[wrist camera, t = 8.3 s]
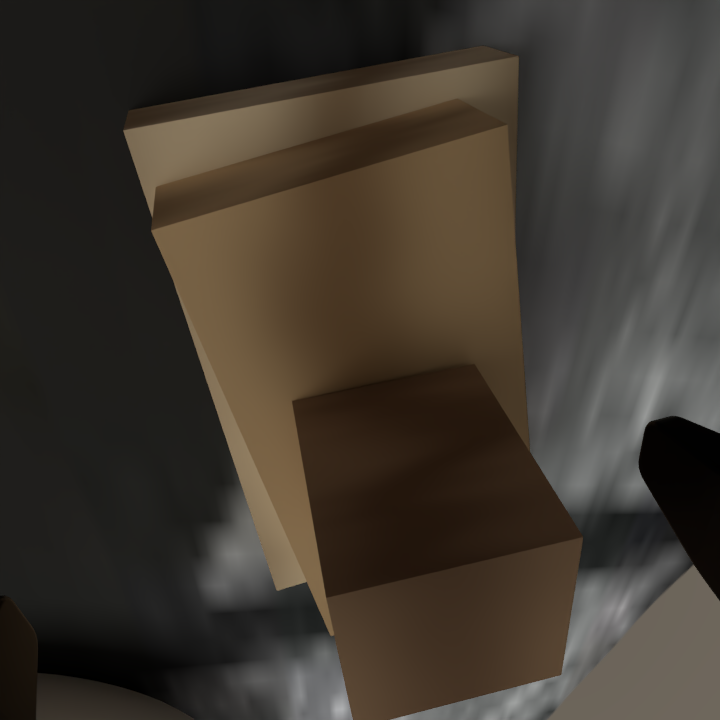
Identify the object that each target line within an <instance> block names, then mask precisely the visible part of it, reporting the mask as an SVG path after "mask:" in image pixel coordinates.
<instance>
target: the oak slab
mask: <svg viewBox="0 0 720 720" xmlns="http://www.w3.org/2000/svg"><path fill="white" fill-rule="evenodd" d="M151 231H152V233H153V236H154V238H155V240H156V242H157V245H158V247H159V249H160V251H161V254H162V256H163V258H164V260H165V263H166V265H167V267H168V269H169V272H170V274H171V276H172V278H173V281H174V283H175V285H176V287H177V290H178V292H179V294H180V296H181V299H182V301H183V303H184V305H185V308H186V310H187V312H188V315H189V317H190V319H191V321H192V324H193V326H194V328H195V330H196V333H197V335H198V337H199V339H200V342H201V344H202V346H203V348H204V351H205V353H206V355H207V357H208V360H209V362H210V364H211V366H212V369H213V371H214V373H215V375H216V378H217V380H218V382H219V385H220V387H221V389H222V391H223V394H224V396H225V398H226V400H227V403H228V405H229V407H230V409H231V412H232V414H233V416H234V418H235V421H236V423H237V425H238V427H239V430H240V432H241V434H242V436H243V439H244V441H245V443H246V445H247V448H248V450H249V452H250V455H251V457H252V459H253V461H254V464H255V466H256V468H257V470H258V473H259V475H260V477H261V479H262V482H263V484H264V486H265V488H266V491H267V493H268V495H269V497H270V500H271V502H272V504H273V506H274V509H275V511H276V513H277V515H278V518H279V520H280V522H281V524H282V527H283V529H284V531H285V534H286V536H287V538H288V540H289V543H290V545H291V547H292V549H293V552H294V554H295V556H296V558H297V561H298V563H299V565H300V567H301V570H302V572H303V574H304V576H305V579H306V581H307V583H308V585H309V588H310V590H311V592H312V594H313V597H314V599H315V601H316V604H317V606H318V608H319V610H320V613H321V615H322V617H323V619H324V622H325V624H326V626H327V628H328V631H329V633H330V635H331V636H333V635H334V631H333V627H332V622H331V618H330V613H329V609H328V604H327V600H326V595H325V589H324V583H323V577H322V572H321V566H320V560H319V554H318V549H317V543H316V537H315V531H314V526H313V520H312V514H311V508H310V503H309V497H308V491H307V485H306V480H305V474H304V468H303V462H302V457H301V451H300V445H299V440H298V434H297V428H296V422H295V417H294V411H293V405H292V401H294V400H299V399H304V398H309V397H314V396H319V395H324V394H329V393H334V392H339V391H344V390H349V389H354V388H359V387H364V386H369V385H374V384H378V383H383V382H388V381H393V380H398V379H403V378H408V377H413V376H418V375H423V374H428V373H433V372H438V371H443V370H448V369H453V368H458V367H463V366H467V365H472V364H475V365H476V367H477V369H478V370H479V372H480V373H481V375H482V377H483V378H484V380H485V381H486V383H487V385H488V386H489V388H490V389H491V391H492V393H493V394H494V396H495V397H496V399H497V400H498V402H499V404H500V405H501V407H502V408H503V410H504V412H505V413H506V415H507V416H508V418H509V420H510V421H511V423H512V424H513V426H514V428H515V429H516V431H517V432H518V434H519V436H520V437H521V439H522V440H523V442H524V444H525V445H526V447H527V448H528V450H529V451H530V444H529V430H528V416H527V401H526V387H525V372H524V358H523V343H522V329H521V315H520V300H519V286H518V271H517V257H516V242H515V228H514V214H513V199H512V185H511V170H510V156H509V141H508V127H507V124H505V123H503V122H501V121H499V120H498V119H496V118H494V117H492V116H490V115H488V114H486V113H484V112H482V111H480V110H478V109H477V108H475V107H473V106H471V105H469V104H467V103H465V102H463V101H461V100H459V99H454V100H451V101H447V102H444V103H440V104H437V105H433V106H430V107H427V108H423V109H420V110H416V111H413V112H409V113H406V114H403V115H399V116H396V117H392V118H389V119H386V120H382V121H379V122H375V123H372V124H368V125H365V126H362V127H358V128H355V129H351V130H348V131H344V132H341V133H338V134H334V135H331V136H327V137H324V138H320V139H317V140H314V141H310V142H307V143H303V144H300V145H296V146H293V147H290V148H286V149H283V150H279V151H276V152H272V153H269V154H266V155H262V156H259V157H255V158H252V159H249V160H245V161H242V162H238V163H235V164H232V165H228V166H225V167H221V168H218V169H215V170H211V171H208V172H204V173H201V174H198V175H194V176H191V177H187V178H184V179H181V180H177V181H174V182H171V183H167V184H164V185H160V186H157V187H156V189H155V199H154V209H153V218H152V228H151Z"/></svg>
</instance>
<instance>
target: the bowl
mask: <svg viewBox="0 0 720 720" xmlns="http://www.w3.org/2000/svg"><path fill="white" fill-rule="evenodd" d="M36 720H195V719H193V718H192V717H190V716H188V715H187V714H185V713H183V712H182V711H180V710H178V709H176V708H174V707H172V706H170V705H168V704H166V703H164V702H162V701H159V700H157V699H154V698H152V697H150V696H147V695H144V694H141V693H138V692H135V691H132V690H129V689H125V688H122V687H118V686H115V685H111V684H106V683H102V682H98V681H93V680H88V679H82V678H76V677H70V676H63V675H54V674H45V673H37V703H36Z"/></svg>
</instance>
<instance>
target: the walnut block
mask: <svg viewBox="0 0 720 720" xmlns="http://www.w3.org/2000/svg"><path fill="white" fill-rule="evenodd" d="M292 405H293V411H294V417H295V422H296V428H297V434H298V440H299V445H300V451H301V457H302V462H303V468H304V474H305V480H306V485H307V491H308V497H309V503H310V508H311V514H312V520H313V526H314V531H315V537H316V543H317V549H318V554H319V560H320V566H321V572H322V577H323V583H324V589H325V595H326V600H327V604H328V609H329V613H330V618H331V622H332V627H333V631H334V636H335V640H336V645H337V650H338V654H339V659H340V663H341V668H342V672H343V677H344V681H345V686H346V690H347V695H348V699H349V704H350V708H351V713H352V717H353V720H390V719H394V718H398V717H402V716H405V715H409V714H413V713H417V712H421V711H425V710H428V709H432V708H436V707H440V706H444V705H448V704H451V703H455V702H459V701H463V700H467V699H471V698H474V697H478V696H482V695H486V694H490V693H494V692H497V691H501V690H505V689H509V688H513V687H517V686H520V685H524V684H528V683H532V682H536V681H540V680H543V679H547V678H551V677H555V676H559V675H561V673H562V666H563V660H564V654H565V648H566V641H567V635H568V629H569V623H570V616H571V610H572V604H573V598H574V591H575V585H576V579H577V573H578V566H579V560H580V554H581V548H582V541H583V536H582V534H581V533H580V531H579V530H578V528H577V526H576V525H575V523H574V522H573V520H572V518H571V517H570V515H569V514H568V512H567V510H566V509H565V507H564V506H563V504H562V502H561V501H560V499H559V498H558V496H557V495H556V493H555V491H554V490H553V488H552V487H551V485H550V483H549V482H548V480H547V479H546V477H545V475H544V474H543V472H542V471H541V469H540V467H539V466H538V464H537V463H536V461H535V459H534V458H533V456H532V455H531V453H530V451H529V450H528V448H527V447H526V445H525V444H524V442H523V440H522V439H521V437H520V436H519V434H518V432H517V431H516V429H515V428H514V426H513V424H512V423H511V421H510V420H509V418H508V416H507V415H506V413H505V412H504V410H503V408H502V407H501V405H500V404H499V402H498V400H497V399H496V397H495V396H494V394H493V393H492V391H491V389H490V388H489V386H488V385H487V383H486V381H485V380H484V378H483V377H482V375H481V373H480V372H479V370H478V369H477V367H476V365H475V364H472V365H467V366H463V367H458V368H453V369H448V370H443V371H438V372H433V373H428V374H423V375H418V376H413V377H408V378H403V379H398V380H393V381H388V382H383V383H378V384H374V385H369V386H364V387H359V388H354V389H349V390H344V391H339V392H334V393H329V394H324V395H319V396H314V397H309V398H304V399H299V400H294V401H292Z"/></svg>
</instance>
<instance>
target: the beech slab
mask: <svg viewBox="0 0 720 720" xmlns="http://www.w3.org/2000/svg"><path fill="white" fill-rule="evenodd" d="M518 72H519V56H517V55H513V54H510V53H507V52H503V51H500V50H497V49H493V48H490V47H486V46H478V47H472V48H467V49H462V50H456V51H451V52H445V53H440V54H434V55H429V56H423V57H418V58H413V59H407V60H402V61H396V62H391V63H385V64H380V65H374V66H369V67H363V68H358V69H353V70H347V71H342V72H336V73H331V74H325V75H320V76H314V77H309V78H303V79H298V80H293V81H287V82H282V83H276V84H271V85H265V86H260V87H254V88H249V89H243V90H238V91H233V92H227V93H222V94H216V95H211V96H205V97H200V98H194V99H189V100H183V101H178V102H173V103H167V104H162V105H156V106H151V107H145V108H140V109H134V110H129V112H128V115H127V119H126V122H125V126H124V130H123V131H124V134H125V137H126V140H127V143H128V146H129V149H130V152H131V155H132V158H133V161H134V164H135V167H136V170H137V173H138V176H139V179H140V182H141V185H142V188H143V191H144V194H145V197H146V200H147V203H148V206H149V209H150V212H151V215H152V218H153V209H154V199H155V189H156V187H157V186H160V185H164V184H167V183H171V182H174V181H177V180H181V179H184V178H187V177H191V176H194V175H198V174H201V173H204V172H208V171H211V170H215V169H218V168H221V167H225V166H228V165H232V164H235V163H238V162H242V161H245V160H249V159H252V158H255V157H259V156H262V155H266V154H269V153H272V152H276V151H279V150H283V149H286V148H290V147H293V146H296V145H300V144H303V143H307V142H310V141H314V140H317V139H320V138H324V137H327V136H331V135H334V134H338V133H341V132H344V131H348V130H351V129H355V128H358V127H362V126H365V125H368V124H372V123H375V122H379V121H382V120H386V119H389V118H392V117H396V116H399V115H403V114H406V113H409V112H413V111H416V110H420V109H423V108H427V107H430V106H433V105H437V104H440V103H444V102H447V101H451V100H454V99H459V100H461V101H463V102H465V103H467V104H469V105H471V106H473V107H475V108H477V109H478V110H480V111H482V112H484V113H486V114H488V115H490V116H492V117H494V118H496V119H498V120H499V121H501V122H503V123H505V124H507V127H508V141H509V156H510V170H511V185H512V199H513V214H514V228H515V213H516V166H517V119H518ZM174 284H175V283H174ZM175 287H176V285H175ZM176 290H177V287H176ZM177 293H178V296H179V299H180V302H181V305H182V308H183V311H184V314H185V317H186V320H187V323H188V326H189V329H190V332H191V335H192V338H193V341H194V344H195V347H196V350H197V353H198V356H199V359H200V362H201V365H202V368H203V371H204V374H205V377H206V380H207V383H208V386H209V389H210V392H211V395H212V398H213V401H214V404H215V407H216V410H217V413H218V416H219V419H220V422H221V425H222V428H223V431H224V434H225V437H226V440H227V443H228V446H229V449H230V452H231V455H232V458H233V461H234V464H235V467H236V470H237V473H238V476H239V479H240V482H241V485H242V488H243V491H244V494H245V497H246V500H247V503H248V506H249V509H250V512H251V515H252V518H253V521H254V524H255V527H256V530H257V533H258V536H259V539H260V542H261V545H262V548H263V551H264V554H265V557H266V560H267V563H268V566H269V569H270V572H271V575H272V578H273V581H274V584H275V587H276V590H281V589H284V588H288V587H291V586H294V585H298V584H301V583H304V582H307V581H306V579H305V576H304V574H303V572H302V570H301V567H300V565H299V563H298V561H297V558H296V556H295V554H294V552H293V549H292V547H291V545H290V543H289V540H288V538H287V536H286V534H285V531H284V529H283V527H282V524H281V522H280V520H279V518H278V515H277V513H276V511H275V509H274V506H273V504H272V502H271V500H270V497H269V495H268V493H267V491H266V488H265V486H264V484H263V482H262V479H261V477H260V475H259V473H258V470H257V468H256V466H255V464H254V461H253V459H252V457H251V455H250V452H249V450H248V448H247V445H246V443H245V441H244V439H243V436H242V434H241V432H240V430H239V427H238V425H237V423H236V421H235V418H234V416H233V414H232V412H231V409H230V407H229V405H228V403H227V400H226V398H225V396H224V394H223V391H222V389H221V387H220V385H219V382H218V380H217V378H216V375H215V373H214V371H213V369H212V366H211V364H210V362H209V360H208V357H207V355H206V353H205V351H204V348H203V346H202V344H201V342H200V339H199V337H198V335H197V333H196V330H195V328H194V326H193V324H192V321H191V319H190V317H189V315H188V312H187V310H186V308H185V305H184V303H183V301H182V299H181V296H180V294H179V292H178V290H177Z"/></svg>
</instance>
